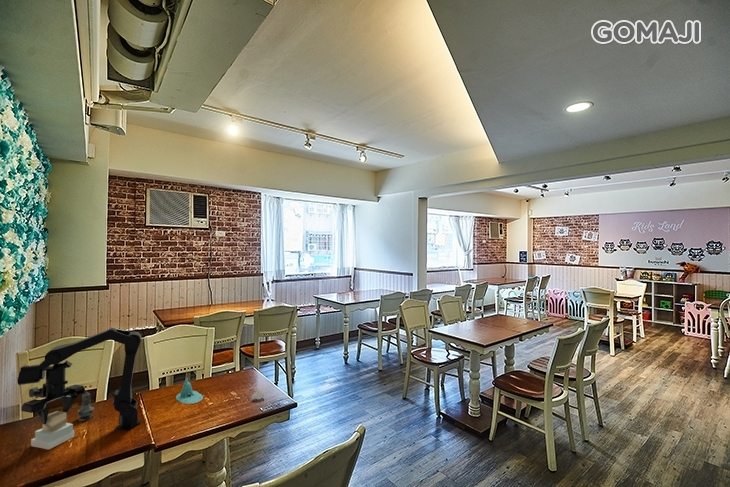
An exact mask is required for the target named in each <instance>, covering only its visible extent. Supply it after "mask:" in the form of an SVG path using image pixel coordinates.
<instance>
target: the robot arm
mask: <svg viewBox="0 0 730 487" xmlns="http://www.w3.org/2000/svg"><path fill="white" fill-rule="evenodd" d="M110 340H112V341H114V342H117V343H119V344H122V345H124V354H125V357H124V364H123V370H122V375H121V383H120V388H119V389H116V390H115V391H114V394H113V398H114V399H113V401H112V406H113V408H114V410H115V411H117V412H119V416H118V425H116V426H115V429H119V430H125V431H129V430H131V429H133V428H134V427H136V426H137V425H139V424H141V423H142V422H141V421H140V420H138V419H139V418H138V417H139V416H138V415H139V413H138V412H139V410H138V408H137V407H138V402H139V401H138V400H137V399H135V398H133V390H132V380H133V375H134V370H135V362H136V356H137V352H138V350H139V347H140V344H141V342H142V334H141V333H140V332H139V331H128V330H123V329H118V328H116V327H110V328H109V327H108V329H106V330H104V331H101V332H98V333H96V334H93V335H91V336H88V337H85V338H84V339H80V340H77V341H75V342H69V343H66V344H60V345H57V346H54V347H52V348H51V349H50V350H49V351H48V352H46V354H45V355H44V360H42V361H41V363H40V364H31V365H22V366H21V367H20V370H19V373H18V377H17V381H16V382H17V385H18V386H22V385H30V384H36V383H37V384H38V383H40V382H41V381H42V380H44V379H45V382H44V383H43V384H42V387H40V388H38V386H36V387H32V388H30V389H29V390H28V396H29V398H34V399H31V400H29V401H26V402H23V404H22V405H21V409H20V410H21V412H25V413H29V414H32V413H33V414H34V413H36V414H37V415H38V418H39V419H40V421H41V423H42V425H43V424H46V422H47V417H48V415H49V409H50V407H47V404H50V403H51V402H53V401H56V400H59V399H61V400H62V412H66V413H67V414H68V412H69V411H70V408H71V407H72V405H73V404H74V402H75V401H76V400H77V398H79V396H80V395H81V394H82V395H83V394H84V393H86V388H85V386H84V385H81V384H73V385H70V386H67V387H66V385H67V384H68V380H66V369H68V368H71V367H72V365H73V363H72V362H70V361H69V360H67V359H69V358H70V357H72V356H73V355H76V353H79V352H82V351H83V350H87V349H89V348H91V347H94V346H96V345H99V344H102V343H103V342H107V341H110ZM63 361H64V362H63ZM39 397H40V398H41V399H37V398H39ZM42 398H43V399H42Z"/></svg>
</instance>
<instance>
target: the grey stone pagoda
mask: <svg viewBox="0 0 730 487" xmlns="http://www.w3.org/2000/svg"><path fill="white" fill-rule="evenodd" d="M91 402H92V399H91V393H90V392H88V391H87V390H85V393H82V396H81V402H80V403H81V408H80V409H78V410H77V414H78V416H79V418H78V419H77V420H78V422H83V421H84V422H85V421H88V420H91V419H92V418H94V414H93V412H94V409H95V407H94V406H91Z"/></svg>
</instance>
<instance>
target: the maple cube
mask: <svg viewBox="0 0 730 487" xmlns="http://www.w3.org/2000/svg"><path fill="white" fill-rule="evenodd" d="M67 414H68V412H67V413H66V412H63V411H59V410H56V411H54V412H51V413H48V417H47V422H46V424H43V423H42V428H41V429H42V430H45V431H50V432H53V431H55V430H57V429H59V428H61V427H63V426H66V423H67V416H68V415H67Z"/></svg>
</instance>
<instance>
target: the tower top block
mask: <svg viewBox="0 0 730 487" xmlns="http://www.w3.org/2000/svg"><path fill="white" fill-rule="evenodd" d="M73 430H74V424H73V423H70V422H66V426H63V427H61V428H59V429H57V430H55V431H53V432H50V431H45V430H42V428H39V429H37V430H35V431H34V438H35V439H37V440H41V441H45V442H49V443H50V442H52V441H54V440H56V439H58V438H60V437H63V436H65V435H67V434H69V433H71V432H73Z"/></svg>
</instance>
